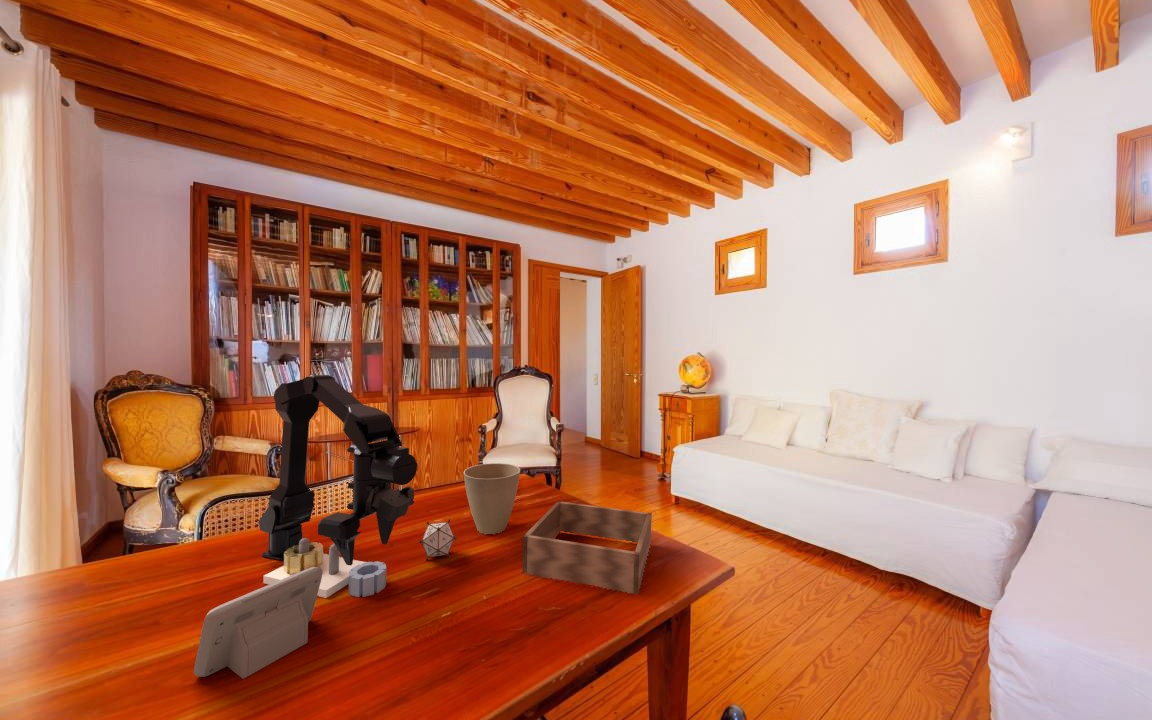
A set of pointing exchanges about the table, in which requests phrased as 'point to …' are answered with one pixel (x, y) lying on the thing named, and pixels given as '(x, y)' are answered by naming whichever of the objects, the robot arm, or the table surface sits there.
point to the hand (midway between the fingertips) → (367, 553)
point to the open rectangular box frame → (589, 546)
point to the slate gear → (367, 579)
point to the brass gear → (303, 558)
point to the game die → (438, 539)
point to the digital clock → (258, 626)
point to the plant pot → (491, 494)
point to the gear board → (331, 567)
